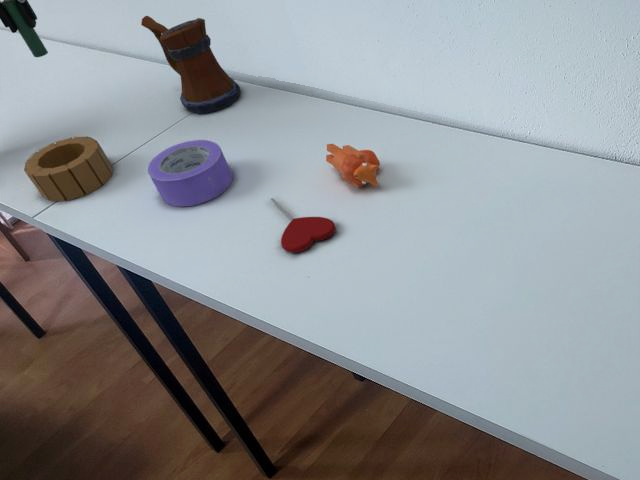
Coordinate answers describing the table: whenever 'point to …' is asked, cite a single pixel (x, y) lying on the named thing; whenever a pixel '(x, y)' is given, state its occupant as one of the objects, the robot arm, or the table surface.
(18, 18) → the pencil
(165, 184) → the tape roll
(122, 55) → the table surface
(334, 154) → the orange toy bird
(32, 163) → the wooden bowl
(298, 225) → the lollipop
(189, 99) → the mug
